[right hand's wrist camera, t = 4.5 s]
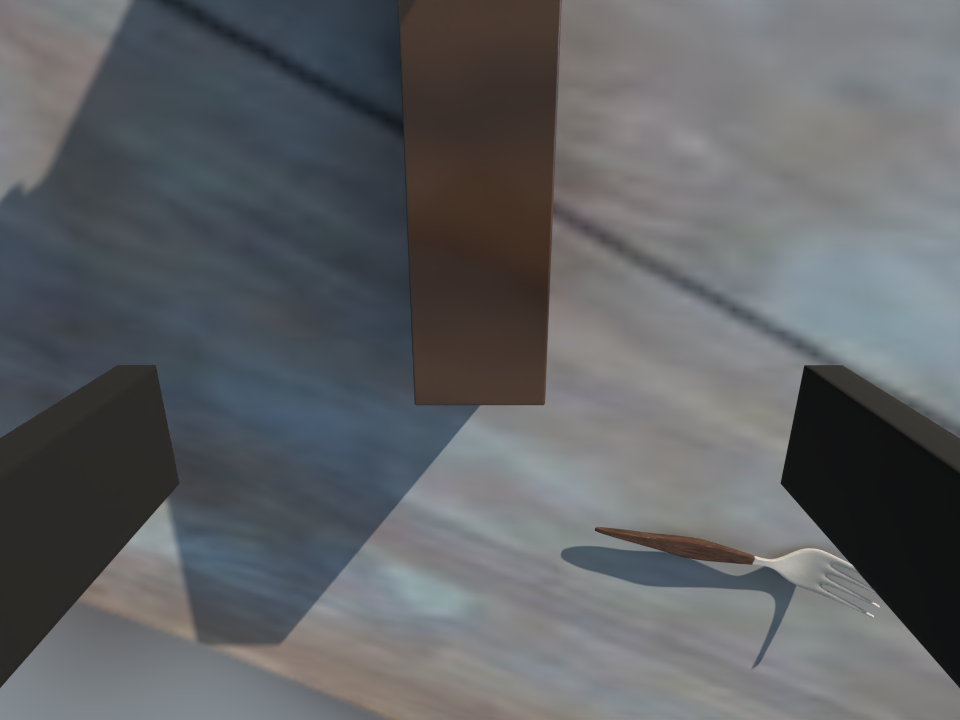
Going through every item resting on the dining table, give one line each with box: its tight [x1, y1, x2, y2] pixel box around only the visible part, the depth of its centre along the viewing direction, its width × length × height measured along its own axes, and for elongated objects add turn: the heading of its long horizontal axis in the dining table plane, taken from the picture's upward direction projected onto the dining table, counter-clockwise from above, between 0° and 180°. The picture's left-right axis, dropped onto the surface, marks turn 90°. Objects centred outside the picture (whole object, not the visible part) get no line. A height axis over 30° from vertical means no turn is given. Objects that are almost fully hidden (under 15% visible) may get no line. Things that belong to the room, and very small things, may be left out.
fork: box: [595, 527, 880, 618], centre depth 32 cm, size 3×16×2 cm, turn 77°
